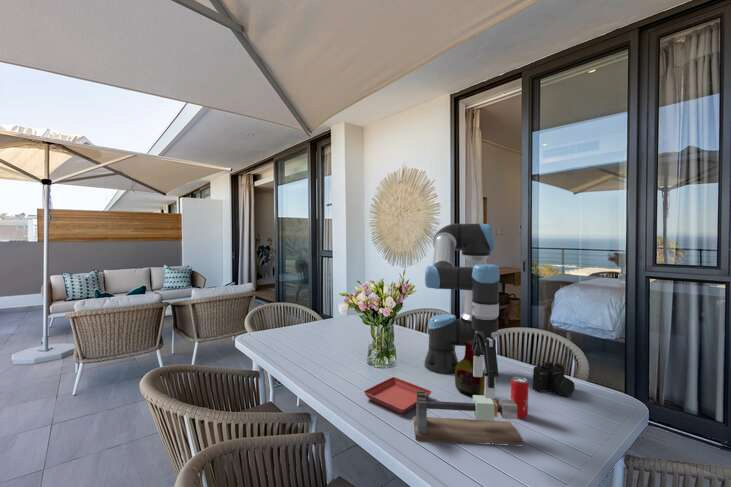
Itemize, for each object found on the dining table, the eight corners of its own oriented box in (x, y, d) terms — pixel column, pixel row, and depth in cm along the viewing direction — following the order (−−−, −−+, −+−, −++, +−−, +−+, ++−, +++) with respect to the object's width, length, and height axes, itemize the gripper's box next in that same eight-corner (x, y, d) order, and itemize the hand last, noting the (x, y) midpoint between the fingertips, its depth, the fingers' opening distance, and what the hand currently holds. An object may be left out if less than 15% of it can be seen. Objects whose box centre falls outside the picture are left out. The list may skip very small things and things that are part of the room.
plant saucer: (432, 399, 123) (432, 390, 123) (403, 419, 110) (403, 409, 109) (393, 384, 135) (393, 376, 135) (362, 400, 122) (362, 391, 122)
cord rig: (413, 420, 108) (414, 388, 108) (510, 426, 105) (511, 393, 105) (415, 439, 98) (415, 404, 98) (522, 446, 95) (523, 409, 95)
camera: (551, 400, 122) (552, 373, 122) (529, 388, 132) (529, 362, 132) (580, 395, 126) (581, 369, 126) (556, 383, 136) (557, 359, 136)
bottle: (488, 397, 124) (489, 343, 124) (478, 402, 120) (479, 347, 120) (461, 385, 134) (462, 335, 133) (451, 390, 130) (452, 338, 129)
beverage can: (512, 409, 115) (513, 375, 115) (529, 414, 112) (530, 379, 112) (508, 415, 111) (509, 380, 111) (525, 421, 108) (525, 384, 108)
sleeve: (472, 411, 104) (472, 395, 104) (489, 411, 103) (489, 395, 103) (476, 419, 99) (476, 403, 99) (494, 420, 98) (494, 404, 98)
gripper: (463, 306, 113) (462, 368, 114) (482, 328, 88) (481, 407, 89) (486, 306, 112) (485, 369, 113) (512, 329, 87) (510, 409, 88)
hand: (483, 386), depth 101 cm, fingers open, 13 cm apart
